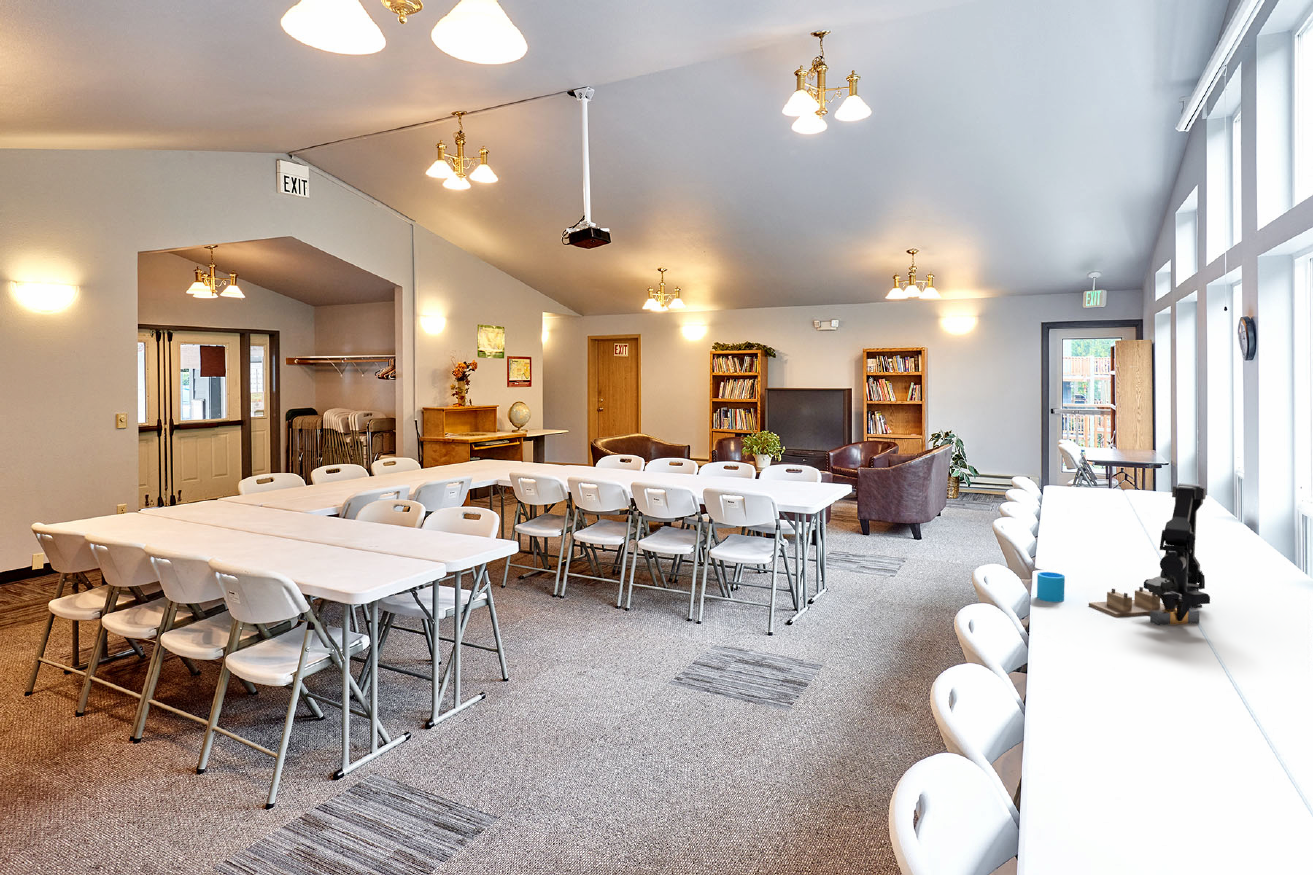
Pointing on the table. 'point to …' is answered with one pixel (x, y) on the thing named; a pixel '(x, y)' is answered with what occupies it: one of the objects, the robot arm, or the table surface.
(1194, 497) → the robot arm
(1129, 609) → the tool rack
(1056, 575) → the mug
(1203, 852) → the table surface
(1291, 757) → the table surface
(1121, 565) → the table surface
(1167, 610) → the spanner bar
